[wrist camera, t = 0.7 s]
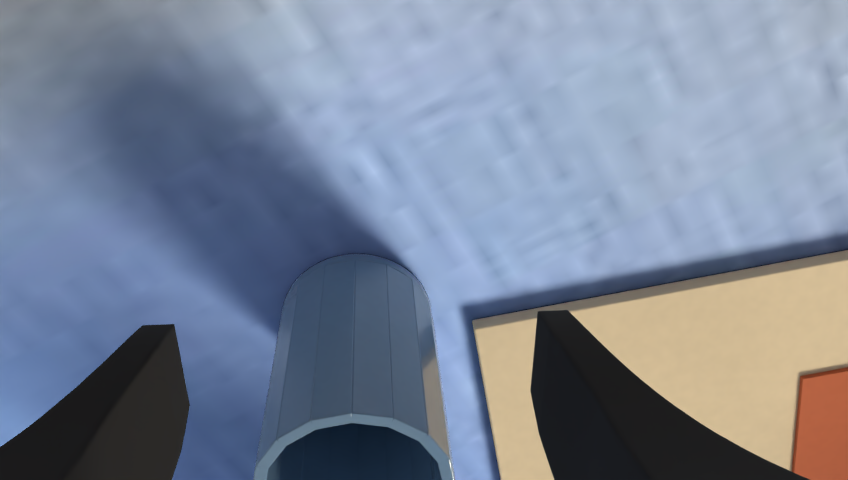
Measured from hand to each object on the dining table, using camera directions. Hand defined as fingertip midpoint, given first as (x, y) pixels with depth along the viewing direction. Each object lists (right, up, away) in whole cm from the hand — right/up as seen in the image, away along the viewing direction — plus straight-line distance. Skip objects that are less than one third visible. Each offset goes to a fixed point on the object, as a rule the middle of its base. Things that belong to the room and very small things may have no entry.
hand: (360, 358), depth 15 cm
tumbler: (-1, 0, +12) cm, 12 cm away
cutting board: (+14, -4, +15) cm, 21 cm away
